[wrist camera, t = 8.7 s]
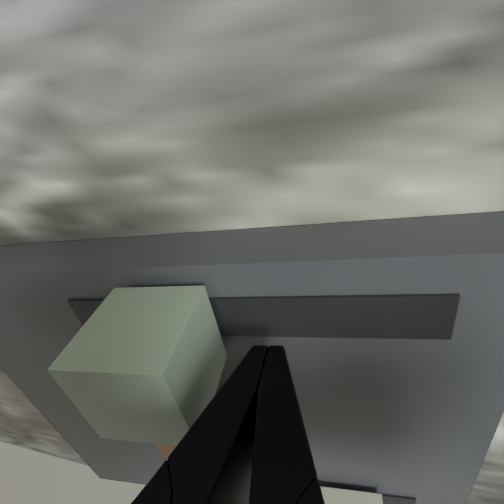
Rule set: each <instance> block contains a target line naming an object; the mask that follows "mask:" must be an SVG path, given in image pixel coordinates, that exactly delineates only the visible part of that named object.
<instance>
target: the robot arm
mask: <svg viewBox="0 0 504 504" xmlns="http://www.w3.org/2000/svg"><path fill="white" fill-rule="evenodd" d="M131 504H325V502H324V499H323V495H322V491H321V487H320V483H319V480H318V477H317V472H316V468H315V465H314V461H313V457H312V453H311V449H310V445H309V441H308V437H307V434H306V430H305V426H304V422H303V418H302V414H301V410H300V407H299V403H298V399H297V395H296V391H295V387H294V383H293V379H292V376H291V372H290V368H289V364H288V360H287V356H286V352H285V349H284V347H283V346H280V345H271V346H269V347H268V346H267V345H254V346H252V347H251V349H250V350H249V351H248V353H247V354H246V355H245V357H244V358H243V359H242V360H241V362H240V363H239V364H238V366H237V367H236V368H235V370H234V371H233V372H232V374H231V375H230V376H229V378H228V379H227V380H226V381H225V383H224V384H223V385H222V387H221V388H220V389H219V391H218V392H217V393H216V395H215V396H214V397H213V399H212V400H211V401H210V403H209V404H208V405H207V406H206V408H205V409H204V410H203V412H202V413H201V414H200V416H199V417H198V418H197V420H196V421H195V422H194V424H193V425H192V426H191V427H190V429H189V430H188V431H187V433H186V434H185V435H184V437H183V438H182V439H181V441H180V442H179V443H178V445H177V446H176V447H175V449H174V450H173V451H172V452H171V454H170V455H169V456H168V461H167V460H165V461H164V463H163V464H162V465H161V467H160V468H159V469H158V471H157V472H156V473H155V475H154V476H153V477H152V478H151V480H150V481H149V482H148V483H147V485H146V486H145V487H144V489H143V490H142V491H141V492H140V493H139V495H138V496H137V497H136V499H135V500H134V501H133V502H132V503H131Z"/></svg>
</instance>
